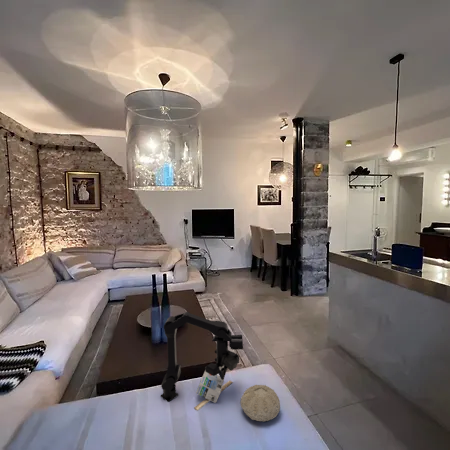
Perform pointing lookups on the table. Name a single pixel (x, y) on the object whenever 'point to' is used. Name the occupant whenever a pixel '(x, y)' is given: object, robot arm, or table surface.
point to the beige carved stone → (260, 403)
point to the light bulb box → (210, 387)
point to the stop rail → (209, 400)
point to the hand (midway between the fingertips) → (222, 379)
